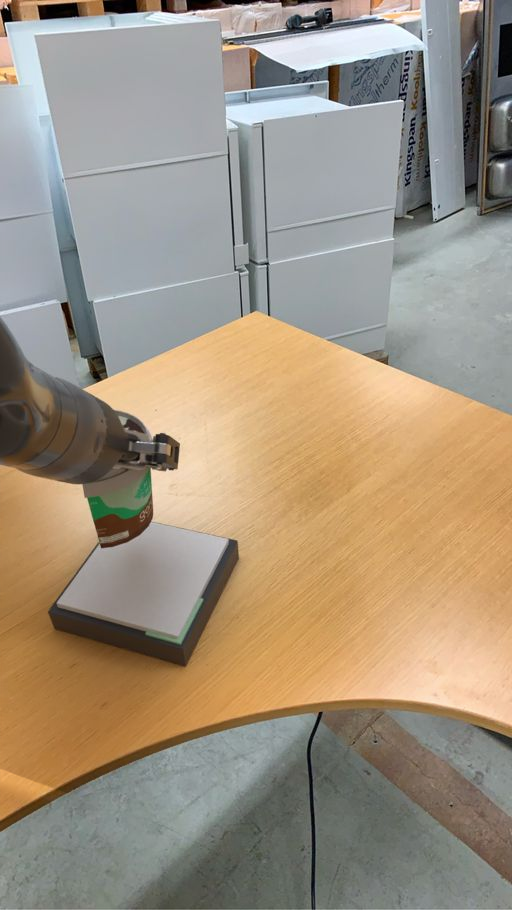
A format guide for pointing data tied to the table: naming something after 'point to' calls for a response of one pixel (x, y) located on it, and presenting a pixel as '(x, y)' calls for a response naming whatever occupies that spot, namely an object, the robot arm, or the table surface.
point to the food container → (122, 497)
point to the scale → (148, 592)
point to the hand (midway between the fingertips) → (129, 458)
